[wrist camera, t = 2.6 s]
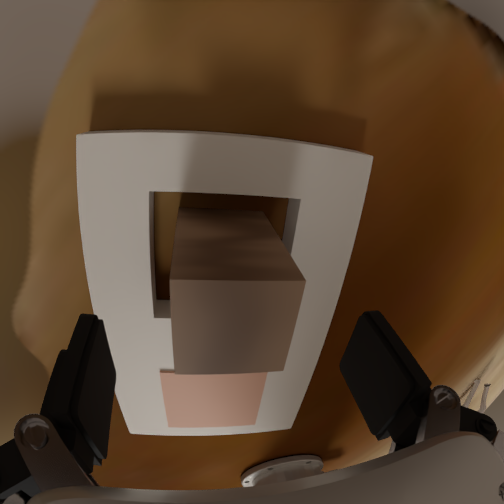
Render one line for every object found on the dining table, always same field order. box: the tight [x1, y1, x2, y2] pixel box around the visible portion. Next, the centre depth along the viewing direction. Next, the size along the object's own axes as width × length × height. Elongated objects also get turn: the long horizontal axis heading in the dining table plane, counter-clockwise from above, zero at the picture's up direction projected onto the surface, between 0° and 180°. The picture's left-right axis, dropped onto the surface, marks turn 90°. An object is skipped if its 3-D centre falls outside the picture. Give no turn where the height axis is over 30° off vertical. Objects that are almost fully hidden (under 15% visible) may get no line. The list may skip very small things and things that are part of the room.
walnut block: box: [170, 207, 306, 375], centre depth 15 cm, size 5×5×8 cm
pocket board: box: [76, 130, 373, 436], centre depth 21 cm, size 16×26×2 cm, turn 173°
